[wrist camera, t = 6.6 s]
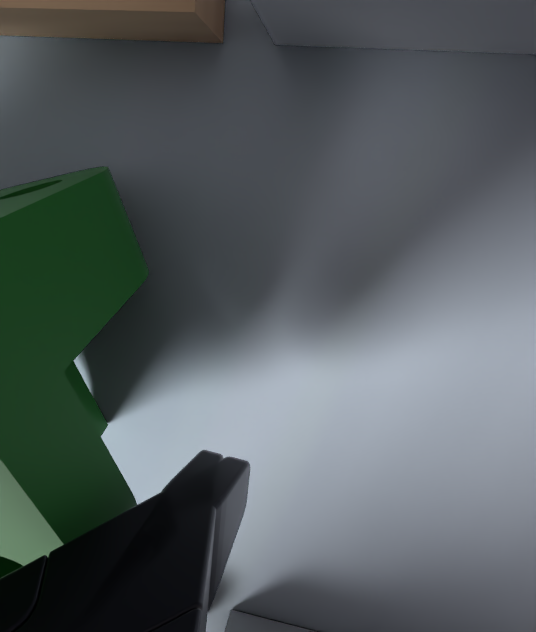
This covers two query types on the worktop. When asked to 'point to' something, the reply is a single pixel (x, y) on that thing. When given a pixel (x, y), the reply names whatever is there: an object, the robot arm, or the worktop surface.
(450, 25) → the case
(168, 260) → the worktop surface
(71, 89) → the worktop surface
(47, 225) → the green bracket
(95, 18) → the bay
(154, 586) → the robot arm
